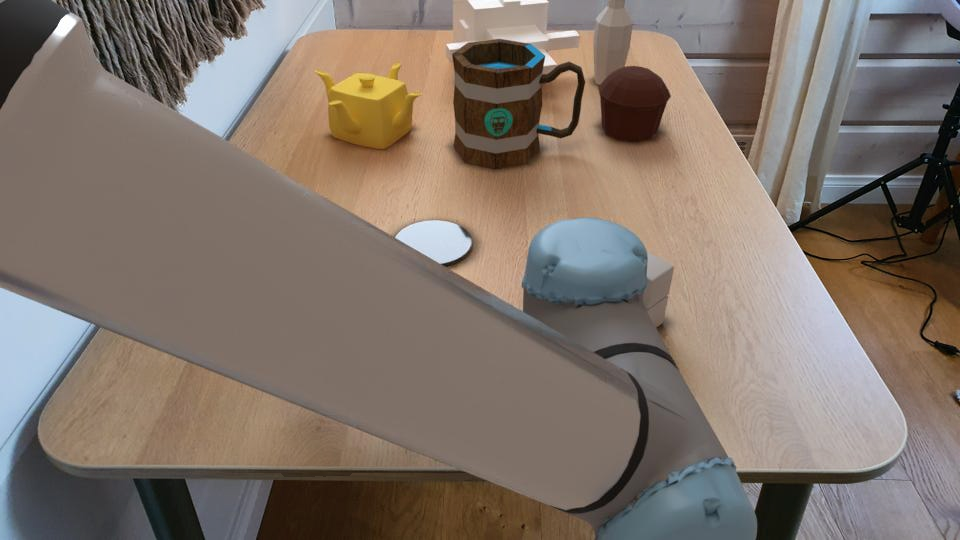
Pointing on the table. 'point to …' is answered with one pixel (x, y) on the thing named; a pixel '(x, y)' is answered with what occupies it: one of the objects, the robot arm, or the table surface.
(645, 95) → the muffin
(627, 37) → the low poly bottle
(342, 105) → the teapot
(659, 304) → the puzzle cube
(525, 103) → the mug
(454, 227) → the round mirror
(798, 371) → the table surface
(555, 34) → the blocky voxel creature
